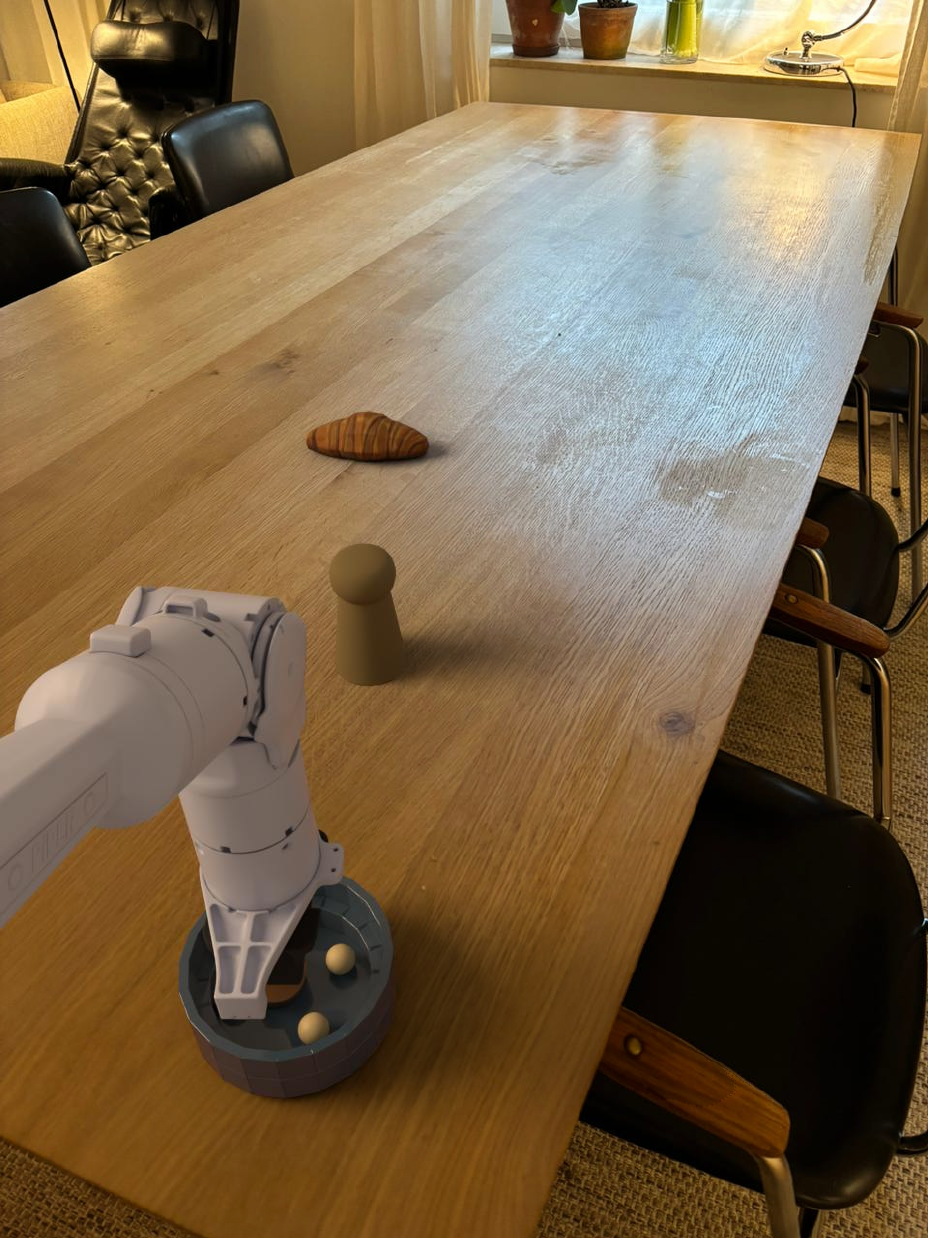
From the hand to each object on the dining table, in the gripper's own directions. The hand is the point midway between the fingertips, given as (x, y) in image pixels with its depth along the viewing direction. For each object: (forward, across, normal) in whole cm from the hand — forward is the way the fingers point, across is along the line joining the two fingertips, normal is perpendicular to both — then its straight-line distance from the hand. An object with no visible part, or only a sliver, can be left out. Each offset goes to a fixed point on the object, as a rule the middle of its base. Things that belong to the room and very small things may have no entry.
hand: (285, 958), depth 55 cm
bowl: (+7, +1, 0) cm, 7 cm away
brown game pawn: (+7, +31, -2) cm, 32 cm away
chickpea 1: (+5, -2, -1) cm, 5 cm away
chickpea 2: (+5, +3, -2) cm, 6 cm away
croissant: (+7, +64, +1) cm, 65 cm away
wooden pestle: (+5, +2, +2) cm, 6 cm away
